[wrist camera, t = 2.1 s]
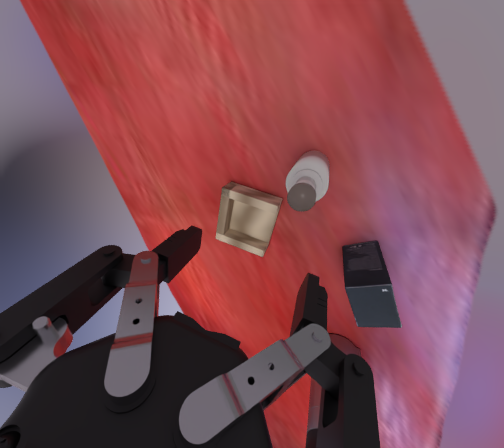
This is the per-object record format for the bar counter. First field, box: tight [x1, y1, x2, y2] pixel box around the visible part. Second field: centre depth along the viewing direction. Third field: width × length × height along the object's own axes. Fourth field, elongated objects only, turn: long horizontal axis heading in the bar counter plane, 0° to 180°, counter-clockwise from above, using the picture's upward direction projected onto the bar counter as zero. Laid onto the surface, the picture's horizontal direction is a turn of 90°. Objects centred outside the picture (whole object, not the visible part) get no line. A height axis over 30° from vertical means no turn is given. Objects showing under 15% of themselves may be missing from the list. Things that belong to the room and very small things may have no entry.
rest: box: [216, 182, 283, 257], centre depth 38 cm, size 10×11×4 cm
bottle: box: [286, 151, 330, 211], centre depth 26 cm, size 5×5×14 cm
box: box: [342, 241, 402, 328], centre depth 32 cm, size 8×6×11 cm
